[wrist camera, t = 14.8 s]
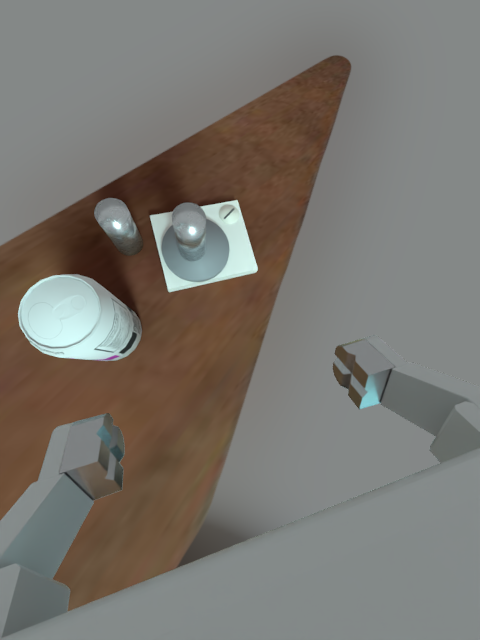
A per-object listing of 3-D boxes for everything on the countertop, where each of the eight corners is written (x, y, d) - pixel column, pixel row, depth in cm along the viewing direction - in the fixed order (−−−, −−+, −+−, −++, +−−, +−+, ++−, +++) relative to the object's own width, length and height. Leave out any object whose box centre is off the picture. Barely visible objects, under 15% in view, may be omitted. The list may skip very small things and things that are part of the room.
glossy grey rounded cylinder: (181, 263, 40) (176, 236, 32) (175, 239, 41) (168, 205, 32) (208, 258, 41) (209, 230, 32) (201, 233, 41) (201, 199, 33)
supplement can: (102, 372, 38) (39, 375, 24) (72, 323, 39) (-7, 297, 24) (153, 340, 40) (124, 325, 25) (124, 294, 41) (79, 253, 26)
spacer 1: (119, 257, 42) (97, 230, 33) (113, 233, 42) (91, 200, 34) (145, 252, 42) (131, 224, 34) (140, 228, 43) (124, 195, 34)
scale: (169, 292, 42) (166, 287, 39) (151, 220, 43) (148, 211, 41) (256, 272, 44) (259, 266, 41) (236, 205, 46) (238, 196, 43)
